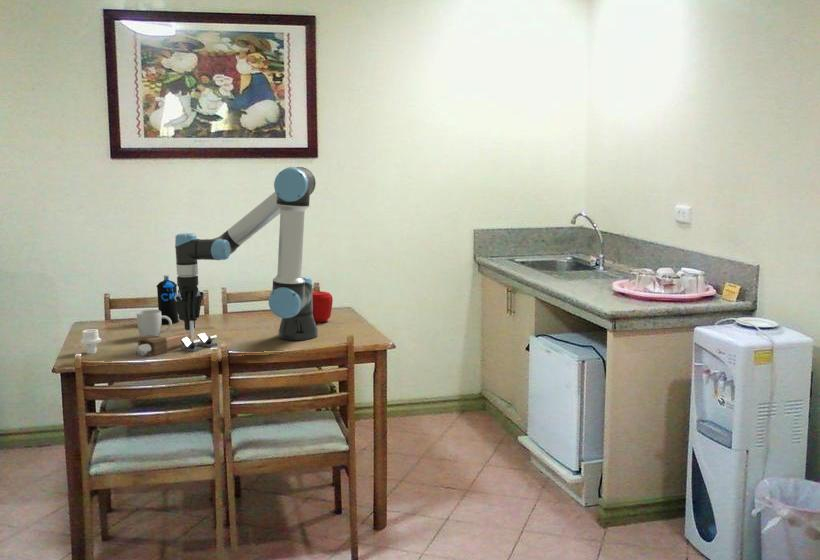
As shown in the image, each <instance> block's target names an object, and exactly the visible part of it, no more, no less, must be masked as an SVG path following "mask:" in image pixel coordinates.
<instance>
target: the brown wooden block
mask: <svg viewBox="0 0 820 560" xmlns="http://www.w3.org/2000/svg"><path fill="white" fill-rule="evenodd" d="M187 337H188V339H189V340H190V338H189V334H186V333H183V332H182V333H178V334H174V335H171V336H166V337H165V338H166V343H167V348H169V347H173V346H177V345H180V344H182V342H181V341H180V340H181V339H183V338H187Z"/></svg>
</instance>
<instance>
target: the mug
mask: <svg viewBox="0 0 820 560" xmlns="http://www.w3.org/2000/svg"><path fill="white" fill-rule="evenodd" d="M162 318H164V319H167V320H168V321H169V324H168V327H166V328H165V329H162V326H163V324H162ZM136 325H137V330H138V333H139V334H138V335H139V337H142V336H146V335H154V336H159V337H161V333H167V332H169V330H171V328H172V326H173V324H172V321H171V319H170V318H169V317H167V316H161V311H160V310H158V309H145V310H140V311H138V312H136Z"/></svg>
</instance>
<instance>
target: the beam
mask: <svg viewBox="0 0 820 560" xmlns="http://www.w3.org/2000/svg"><path fill="white" fill-rule="evenodd" d="M151 342H153V352H150V353H147V355H146V357H152V356H158V355H163V354H167V353H168V352H170V351H171V352H172V351H174V350H178V349H180V347H182V346H184V345H183V344H180V345H177V346H173V347H169V348H167V343H166V337H164V336H154V335H146V336H142V337H141V336H139V337H137V347H138V346H139V345H143V344H147V343H151ZM135 354H136V355H138V353H137V350H136V351H135Z"/></svg>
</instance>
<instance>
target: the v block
mask: <svg viewBox="0 0 820 560" xmlns="http://www.w3.org/2000/svg"><path fill="white" fill-rule="evenodd" d="M196 337H197V338H198V339H195V340H192V341H191V340H190V338H189V339H188V337H187V338H183V339H181V340H180V341H181V342H182V344H183V345H184V346H182V347H180V348H179V349H180V351H185V352H189V353H190V352H191V353H196V352H195V351H197V352H200V351H202V347H205V346H207V347H206V348H215V347H218V342H214V341H215V339H217V338H218V336H217V335H216V334H215V335H211V336H207V334H206V333H205V332H203V333H199V334H197V335H196ZM200 345H202V346H201V347H200ZM214 346H215V347H214ZM199 350H200V351H199Z"/></svg>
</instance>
